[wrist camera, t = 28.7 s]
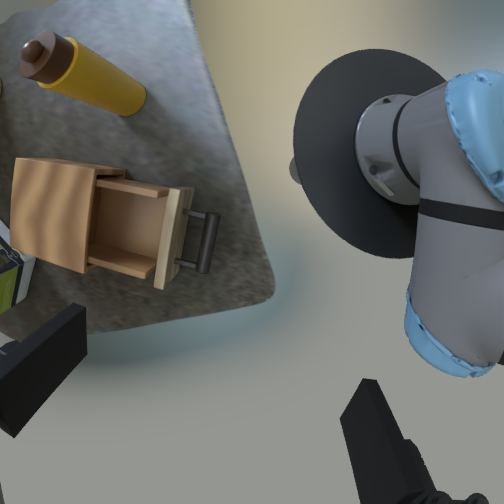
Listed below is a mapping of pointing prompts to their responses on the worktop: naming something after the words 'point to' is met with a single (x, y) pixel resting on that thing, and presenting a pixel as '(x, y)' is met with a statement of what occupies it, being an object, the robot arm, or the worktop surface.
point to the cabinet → (55, 209)
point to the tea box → (13, 271)
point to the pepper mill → (80, 74)
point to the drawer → (145, 229)
